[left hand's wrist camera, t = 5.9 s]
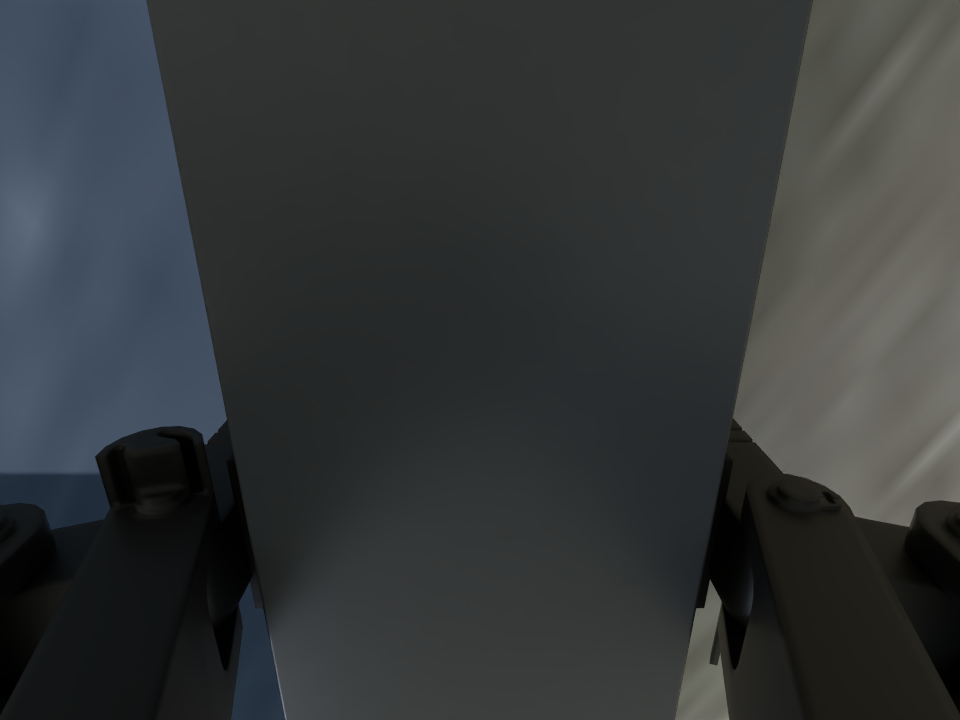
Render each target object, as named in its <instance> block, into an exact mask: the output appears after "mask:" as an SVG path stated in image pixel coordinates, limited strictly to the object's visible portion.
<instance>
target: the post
mask: <svg viewBox="0 0 960 720" xmlns="http://www.w3.org/2000/svg"><path fill="white" fill-rule="evenodd" d="M812 2H813V0H147V6H148V11H149V16H150V21H151V26H152V31H153V37H154V42H155V47H156V52H157V57H158V63H159V68H160V73H161V78H162V83H163V89H164V94H165V99H166V104H167V109H168V115H169V120H170V125H171V130H172V135H173V141H174V146H175V151H176V156H177V161H178V167H179V172H180V177H181V182H182V187H183V193H184V198H185V203H186V208H187V213H188V219H189V224H190V229H191V234H192V239H193V244H194V250H195V255H196V260H197V265H198V270H199V276H200V281H201V286H202V291H203V296H204V302H205V307H206V312H207V317H208V322H209V328H210V333H211V338H212V343H213V348H214V354H215V359H216V364H217V369H218V374H219V380H220V385H221V390H222V395H223V400H224V406H225V411H226V416H227V421H228V426H229V431H230V437H231V442H232V447H233V452H234V457H235V463H236V468H237V473H238V478H239V483H240V489H241V494H242V499H243V504H244V509H245V515H246V520H247V525H248V530H249V535H250V541H251V546H252V551H253V556H254V561H255V567H256V572H257V577H258V582H259V587H260V593H261V598H262V603H263V608H264V613H265V618H266V624H267V629H268V634H269V639H270V644H271V650H272V655H273V660H274V665H275V670H276V676H277V681H278V686H279V691H280V696H281V702H282V707H283V712H284V717H285V720H675V715H676V710H677V705H678V699H679V694H680V689H681V684H682V679H683V673H684V668H685V663H686V658H687V653H688V647H689V642H690V637H691V632H692V627H693V621H694V616H695V611H696V606H697V601H698V595H699V590H700V585H701V580H702V575H703V569H704V564H705V559H706V554H707V548H708V543H709V538H710V533H711V528H712V522H713V517H714V512H715V507H716V502H717V496H718V491H719V486H720V481H721V476H722V470H723V465H724V460H725V455H726V450H727V444H728V439H729V434H730V429H731V423H732V418H733V413H734V408H735V403H736V397H737V392H738V387H739V382H740V377H741V371H742V366H743V361H744V356H745V351H746V345H747V340H748V335H749V330H750V325H751V319H752V314H753V309H754V304H755V299H756V293H757V288H758V283H759V278H760V272H761V267H762V262H763V257H764V252H765V246H766V241H767V236H768V231H769V226H770V220H771V215H772V210H773V205H774V200H775V194H776V189H777V184H778V179H779V174H780V168H781V163H782V158H783V153H784V147H785V142H786V137H787V132H788V127H789V121H790V116H791V111H792V106H793V101H794V95H795V90H796V85H797V80H798V75H799V69H800V64H801V59H802V54H803V49H804V43H805V38H806V33H807V28H808V22H809V17H810V12H811V7H812Z"/></svg>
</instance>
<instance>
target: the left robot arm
mask: <svg viewBox="0 0 960 720" xmlns="http://www.w3.org/2000/svg"><path fill="white" fill-rule="evenodd" d="M95 458H96V461H97V464H98V468H99V471H100V474H101V478H102V481H103V484H104V488H105V491H106V494H107V498H108V501H109V504H110V510H109V512H108V514H107V515H106V517H105V519H104V520H99V521H95V522H90V523H84V524H79V525H74V526H68V527H63V528H58V529H53V530H51V529H50V526H49V523H48V520H47V517H46V515H45V512H44V510H42V509H41V508H39V507H38V506H36V505H32V504H22V503H17V504H9V505H0V720H231V715H232V707H233V699H234V691H235V684H236V676H237V668H238V661H239V653H240V645H241V637H242V630H243V626H242V619H241V614H240V609H239V604H238V603H239V601H240V599H241V597H242V595H243V593H244V592H245V590H246V588H247V586H248V584H249V582H250V583H251V588H252V593H253V598H254V603H255V608H263V603H262V598H261V593H260V587H259V582H258V577H257V572H256V567H255V561H254V556H253V551H252V546H251V541H250V535H249V530H248V525H247V520H246V515H245V509H244V504H243V499H242V494H241V489H240V483H239V478H238V473H237V468H236V463H235V457H234V452H233V447H232V442H231V437H230V431H229V426H228V421H226V422H225V423H224V424H223V425H222V426H221V427H220V428H219V430H218V433H215V434H214V435H213V436H212V437H211V438H210V440H209V441H208V444H207V445H204V441H203V436H202V434H201V433H199V432H198V431H197V430H195V429H193V428H187V427H182V426H172V427H159V428H154V429H149V430H144V431H140V432H137V433H134V434H131V435H128V436H126V437H123V438H121V439H119V440H117V441H115V442H113V443H111V444H110V445H108V446H106V447H105V448H104V449H103V450H102V451H101V452H100V453H98V454H97V455H96V456H95ZM710 580H711V582H712V584H713V585H714V587H715V589H716V591H717V593H718V595H719V597H720V599H721V601H722V604H721V609H720V614H719V618H718V623H717V628H716V632H715V637H714V642H713V646H712V651H711V657H710V664H713V665H717V664H718V660H719V655H720V653H721V659H722V667H723V675H724V682H725V690H726V698H727V705H728V713H729V720H960V503H957V502H949V501H932V502H925V503H923V504H922V505H920V506H919V507H917V508H916V510H915V513H914V516H913V519H912V522H911V524H910V527H905V526H900V525H895V524H889V523H884V522H879V521H873V520H868V519H863V518H859V517H855V516H854V514H853V513H852V511H851V509H850V507H849V506H848V505H847V504H846V502H845V501H844V500H843V499H842V498H841V497H840V496H839V495H838V494H836V493H835V492H833V491H832V490H830V489H828V488H827V487H825V486H823V485H821V484H818V483H816V482H814V481H811V480H809V479H806V478H802V477H798V476H794V475H789V474H783V473H782V472H781V470H780V469H779V468H778V467H777V466H776V465H775V464H774V463H773V462H772V461H771V459H770V458H769V457H768V456H767V455H766V454H765V453H764V452H763V451H762V450H761V448H760V447H759V446H758V445H757V444H756V443H755V442H752V439H751V437H750V436H749V435H748V434H747V433H746V432H745V431H742V428H741V426H740V425H739V424H738V423H737V422H736V421H735V420H734V419H733V418H732V423H731V429H730V434H729V439H728V444H727V450H726V455H725V460H724V465H723V470H722V476H721V481H720V486H719V491H718V496H717V502H716V507H715V512H714V517H713V522H712V528H711V533H710V538H709V543H708V548H707V554H706V559H705V564H704V569H703V575H702V580H701V585H700V590H699V595H698V601H697V606H696V608H704V606H705V601H706V596H707V591H708V586H709V581H710Z"/></svg>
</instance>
